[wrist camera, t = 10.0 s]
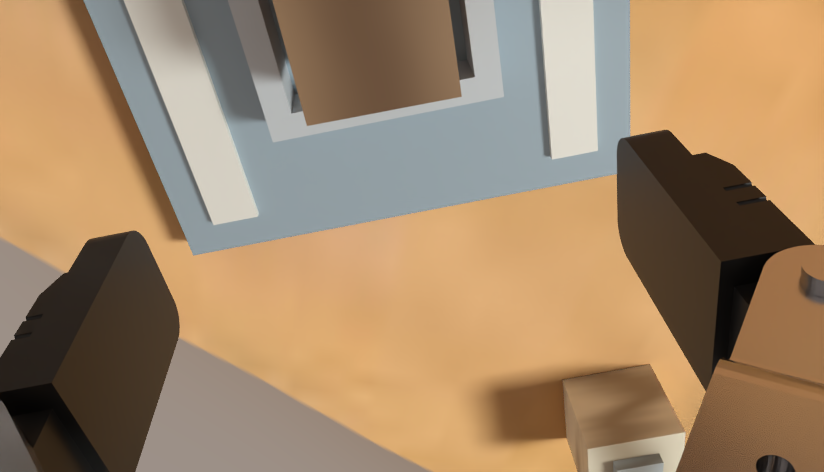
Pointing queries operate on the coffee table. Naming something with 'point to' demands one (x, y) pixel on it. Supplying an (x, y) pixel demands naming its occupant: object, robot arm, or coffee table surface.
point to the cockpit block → (622, 422)
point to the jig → (369, 134)
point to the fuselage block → (368, 55)
